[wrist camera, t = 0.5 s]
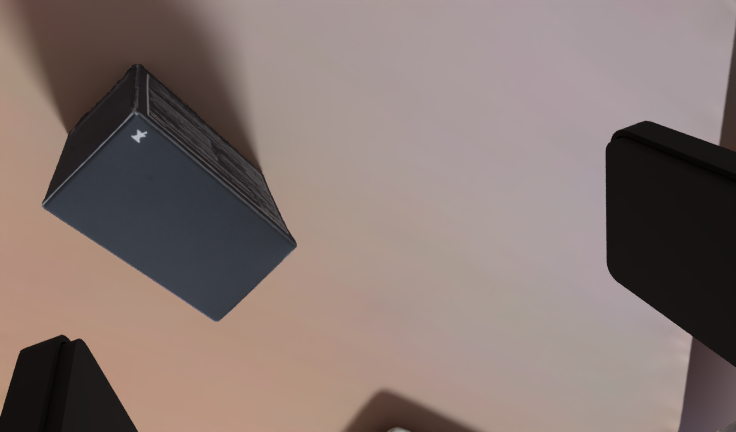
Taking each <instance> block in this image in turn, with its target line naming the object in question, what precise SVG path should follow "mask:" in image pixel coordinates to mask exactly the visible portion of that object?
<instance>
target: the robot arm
mask: <svg viewBox="0 0 736 432" xmlns="http://www.w3.org/2000/svg"><path fill="white" fill-rule="evenodd" d="M606 241H607V267H608V270H609V272H610V274H611V275H612V277H613V278H614V279H615V280H616V281H617V282H618V283H620V284H621V285H622V286H624V287H625V288H627V289H628V290H629V291H631V292H632V293H634V294H635V295H636V296H638V297H639V298H641V299H642V300H643V301H645V302H646V303H647V304H649V305H650V306H652V307H653V308H654V309H656V310H657V311H659V312H660V313H661V314H663V315H664V316H665V317H667V318H668V319H670V320H671V321H672V322H674V323H675V324H677V325H678V326H679V327H681V328H682V329H683V330H685V331H686V332H688V333H689V334H690V335H692V336H693V337H695V338H696V339H697V340H699V341H700V342H702V343H703V344H704V345H706V346H707V347H708V348H710V349H711V350H713V351H714V352H715V353H717V354H718V355H720V356H721V357H722V358H724V359H725V360H726V361H728V362H729V363H731V364H732V365H733V366H735V367H736V152H734V151H731V150H729V149H726V148H723V147H720V146H718V145H715V144H712V143H709V142H707V141H704V140H701V139H698V138H695V137H693V136H690V135H687V134H684V133H681V132H679V131H676V130H673V129H670V128H667V127H665V126H662V125H659V124H656V123H654V122H650V121H643V122H640V123H637V124H634V125H632V126H629V127H626V128H624V129H621V130H618V131H616V132H615V133H614V134H613V136H612V138H611V142H610V143H608V145H607V147H606ZM0 432H138V431H137V429H136V427H135V426H134V424H133V422H132V421H131V419H130V417H129V416H128V414H127V412H126V410H125V409H124V407H123V405H122V404H121V402H120V400H119V399H118V397H117V395H116V394H115V392H114V390H113V389H112V387H111V385H110V383H109V382H108V380H107V378H106V377H105V375H104V373H103V372H102V370H101V368H100V367H99V365H98V363H97V362H96V360H95V358H94V356H93V355H92V353H91V351H90V350H89V348H88V346H87V345H86V343H85V342H84V341H83V340H82V339H76V340H74V341H70V340H69V339H68V338H67V337H66V336H64V335H60V336H57V337H54V338H51V339H49V340H46V341H43V342H40V343H38V344H35V345H32V346H30V347H27V348H24V349H22V350H21V351H20V353H19V356H18V359H17V362H16V366H15V369H14V372H13V376H12V379H11V383H10V386H9V389H8V393H7V396H6V399H5V403H4V406H3V409H2V413H1V416H0ZM716 432H736V422H734V423H732V424H730V425H728V426H727V427H724V428H722V429H720V430H718V431H716Z"/></svg>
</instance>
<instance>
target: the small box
mask: <svg viewBox="0 0 736 432" xmlns="http://www.w3.org/2000/svg"><path fill="white" fill-rule="evenodd" d="M42 207H43V208H44V209H45V210H47V211H49V212H50V213H52V214H53V215H55V216H56V217H58V218H59V219H61V220H62V221H64V222H65V223H67V224H68V225H70V226H71V227H73V228H74V229H76V230H77V231H79V232H81V233H82V234H84V235H85V236H87V237H88V238H90V239H91V240H93V241H94V242H96V243H97V244H99V245H100V246H102V247H103V248H105V249H106V250H108V251H110V252H111V253H113V254H114V255H116V256H117V257H119V258H120V259H122V260H123V261H125V262H126V263H128V264H129V265H131V266H132V267H134V268H135V269H137V270H139V271H140V272H142V273H143V274H145V275H146V276H147V277H149V278H150V279H152V280H153V281H155V282H156V283H158V284H159V285H161V286H162V287H164V288H165V289H167V290H168V291H170V292H171V293H173V294H174V295H176V296H177V297H179V298H180V299H182V300H183V301H185V302H186V303H188V304H189V305H191V306H192V307H194V308H195V309H197V310H198V311H200V312H201V313H203V314H204V315H206V316H207V317H209V318H210V319H212V320H213V321H215V322H218V321H220V320H221V319H222V318H223V317H224V316H225V315H227V314H228V313H229V312H230V311H231V310H232V309H233V308H234V307H235V306H236V305H237V304H238V303H240V302H241V300H242V299H243V298H245V297H246V296H247V295H248V294H249V293H250V292H251V291H252V290H253V289H254V288H255V287H256V286H257V285H258V284H259V283H260V282H261V281H262V280H263V279H264V278H265V277H266V276H267V275H268V274H269V273H271V272H272V271H273V270H274V269H275V268H276V267H277V266H278V265H279V264H280V263H281V262H282V261H283V260H284V259H285V258H286V257H287V256H288V255H289V254H290V253H291V252H292V251H293V250H294V249H295V248H296V247H297V243H296V241H295V240H294V238H293V237H292V235H291V233H290V232H289V230H288V229H287V227H286V225H285V222H284V221H283V219H282V217H281V214H280V212H279V210H278V208H277V206H276V203H275V201H274V199H273V197H272V195H271V192H270V190H269V188H268V186H267V183H266V181H265V178H264V175H263V174H262V173H261V172H260V171H259V170H258V169H256V168H255V167H254V166H253V165H252V164H251V163H250V162H249V161H248V160H247V159H246V158H244V157H243V156H242V155H241V154H240V153H239V152H238V151H237V150H236V149H234V148H233V147H232V146H231V145H230V144H229V143H228V141H226V140H225V139H223V138H222V137H221V136H220V135H219V134H218V133H217V132H216V131H214V130H213V129H212V128H211V127H210V126H209V125H208V124H207V123H205V121H204V120H202V119H201V118H200V117H199V116H198V115H197V114H196V113H195V112H194V111H193V110H192V109H190V108H189V107H188V106H187V105H186V104H184V103H183V102H182V101H181V100H180V99H179V98H178V97H177V96H176V95H175V94H173V93H172V92H171V91H170V90H169V89H168V88H167V87H165V86H164V85H163V84H162V83H161V82H160V81H158V80H157V79H156V78H155V77H154V76H153V75H152V74H150V73H149V72H148V71H147V70H146V69H145V68H144V67H143V66H142V65H132V68H130V69H129V70H128V71H127V73H126V74H125V76H124V77H123V79H121V80H119V81H118V82H117V85H116V86H114V87H113V88H112V89H111V91H110V92H109V93H107V94H106V96H105V97H104V98H103V99H102V100H101V101H100V102H98V103H97V104H96V106H95V107H94V108H93V109H91V111H90V112H88V113H86V114H85V115H84V116H83V117H82V118H81V120H80V121H79V122H78V123H77V125H76V126H75V127H74V129H73V130H72V131H71V132H70V133H69V134H68V137H67V140H66V143H65V146H64V148H63V151H62V154H61V156H60V159H59V162H58V164H57V167H56V170H55V172H54V175H53V178H52V180H51V182H50V185H49V188H48V191H47V194H46V196H45V199H44V200H43V202H42Z"/></svg>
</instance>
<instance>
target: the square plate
mask: <svg viewBox="0 0 736 432" xmlns="http://www.w3.org/2000/svg"><path fill="white" fill-rule="evenodd" d="M387 432H411V431H408V430H405V429H403V428H399V427H396V428H393V429H390V430H389V431H387Z"/></svg>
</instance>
